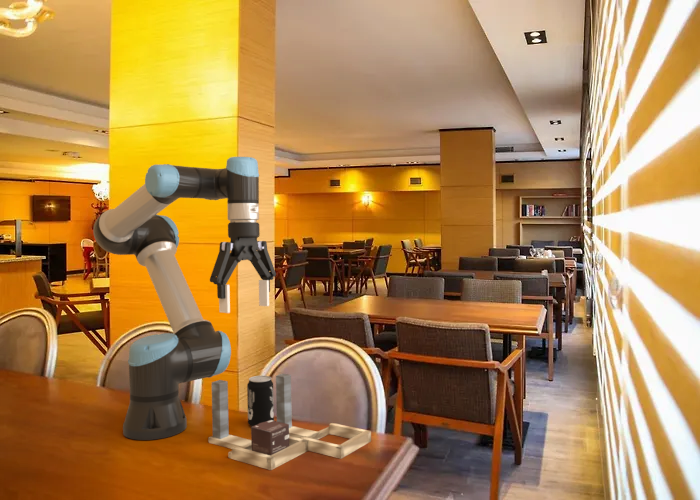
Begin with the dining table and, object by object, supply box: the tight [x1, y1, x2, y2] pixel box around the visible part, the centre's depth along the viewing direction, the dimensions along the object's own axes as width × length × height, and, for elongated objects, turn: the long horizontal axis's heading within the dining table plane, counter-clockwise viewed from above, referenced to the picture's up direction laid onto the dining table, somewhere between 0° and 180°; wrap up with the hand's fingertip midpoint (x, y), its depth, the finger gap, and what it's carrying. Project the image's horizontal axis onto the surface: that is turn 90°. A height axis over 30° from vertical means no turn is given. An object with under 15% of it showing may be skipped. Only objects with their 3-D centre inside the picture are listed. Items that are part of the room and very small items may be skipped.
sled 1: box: [207, 379, 309, 471], centre depth 131 cm, size 23×12×14 cm, turn 56°
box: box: [250, 420, 289, 456], centre depth 126 cm, size 6×6×7 cm
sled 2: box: [275, 373, 372, 459], centre depth 136 cm, size 23×12×14 cm, turn 56°
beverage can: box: [246, 375, 275, 428], centre depth 148 cm, size 7×7×12 cm
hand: (245, 309), depth 140 cm, fingers open, 13 cm apart
